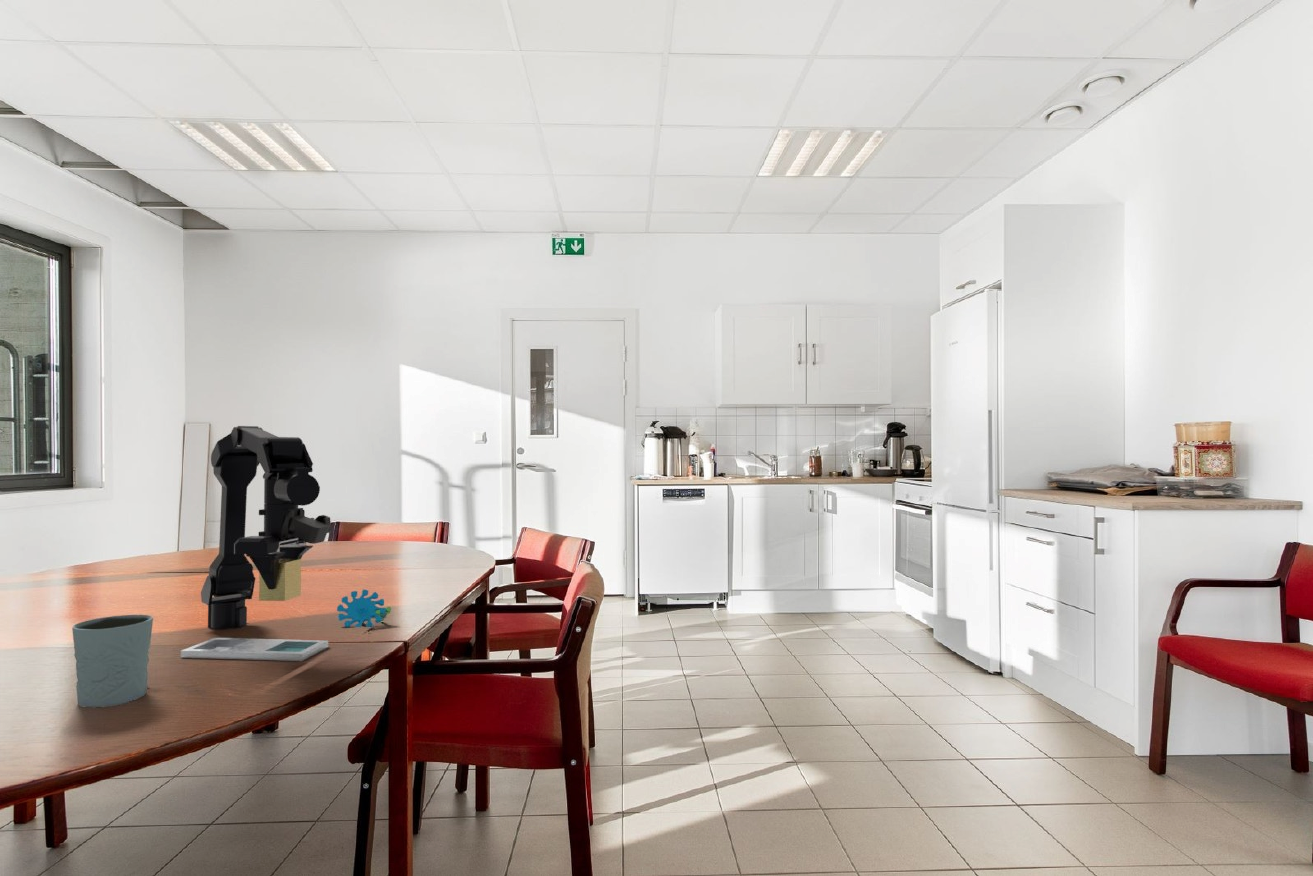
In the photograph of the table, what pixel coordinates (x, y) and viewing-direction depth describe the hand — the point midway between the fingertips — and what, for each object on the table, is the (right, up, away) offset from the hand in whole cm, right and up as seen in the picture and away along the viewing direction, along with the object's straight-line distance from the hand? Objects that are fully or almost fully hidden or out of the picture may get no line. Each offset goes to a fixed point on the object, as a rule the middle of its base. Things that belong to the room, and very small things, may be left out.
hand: (280, 586), depth 133 cm
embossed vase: (-15, -13, -22) cm, 29 cm away
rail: (-5, -13, 0) cm, 14 cm away
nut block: (0, -2, 0) cm, 2 cm away
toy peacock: (+6, -14, +23) cm, 28 cm away
